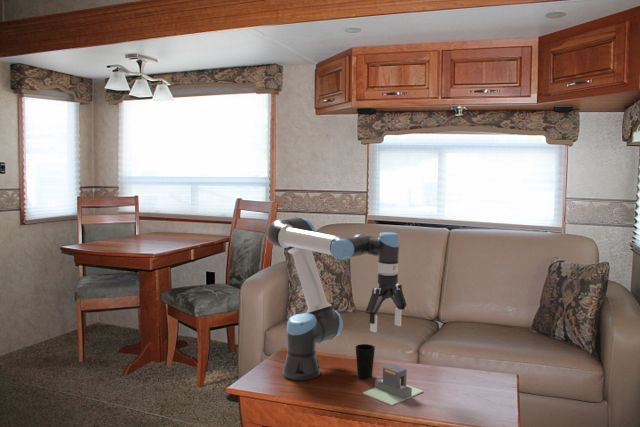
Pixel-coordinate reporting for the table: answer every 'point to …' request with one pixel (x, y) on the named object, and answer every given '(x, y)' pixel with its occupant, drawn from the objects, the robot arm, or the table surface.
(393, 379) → the plug block
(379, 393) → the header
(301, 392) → the table surface
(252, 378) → the table surface
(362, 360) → the cup
